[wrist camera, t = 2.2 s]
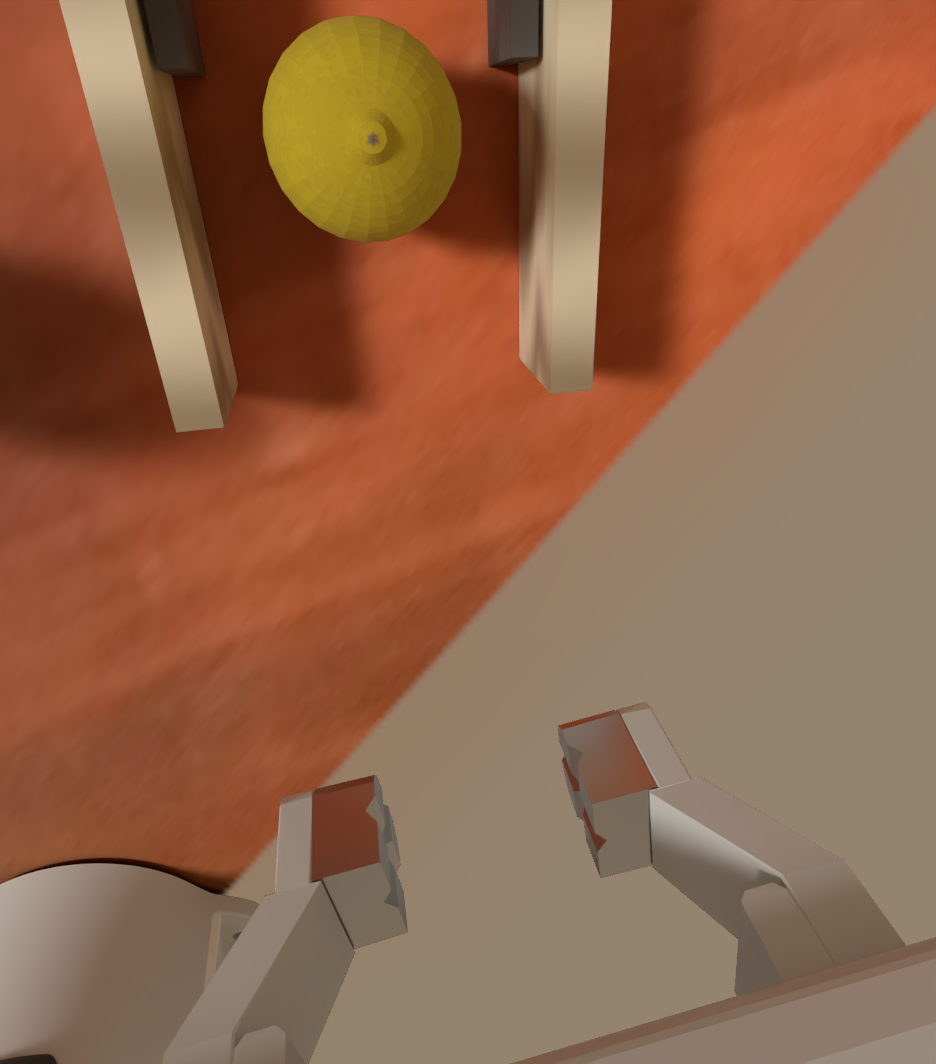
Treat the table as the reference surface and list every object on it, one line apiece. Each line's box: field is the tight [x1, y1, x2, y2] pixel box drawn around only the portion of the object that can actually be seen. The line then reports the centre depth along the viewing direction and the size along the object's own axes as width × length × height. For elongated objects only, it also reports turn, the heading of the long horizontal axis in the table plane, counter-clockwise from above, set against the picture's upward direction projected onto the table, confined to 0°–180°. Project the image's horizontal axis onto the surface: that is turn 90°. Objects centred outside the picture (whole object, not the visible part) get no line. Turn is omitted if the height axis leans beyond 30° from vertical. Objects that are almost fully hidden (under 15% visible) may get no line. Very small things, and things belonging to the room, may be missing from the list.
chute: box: [59, 0, 612, 432], centre depth 22 cm, size 14×14×4 cm
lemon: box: [263, 15, 461, 242], centre depth 20 cm, size 6×6×8 cm
